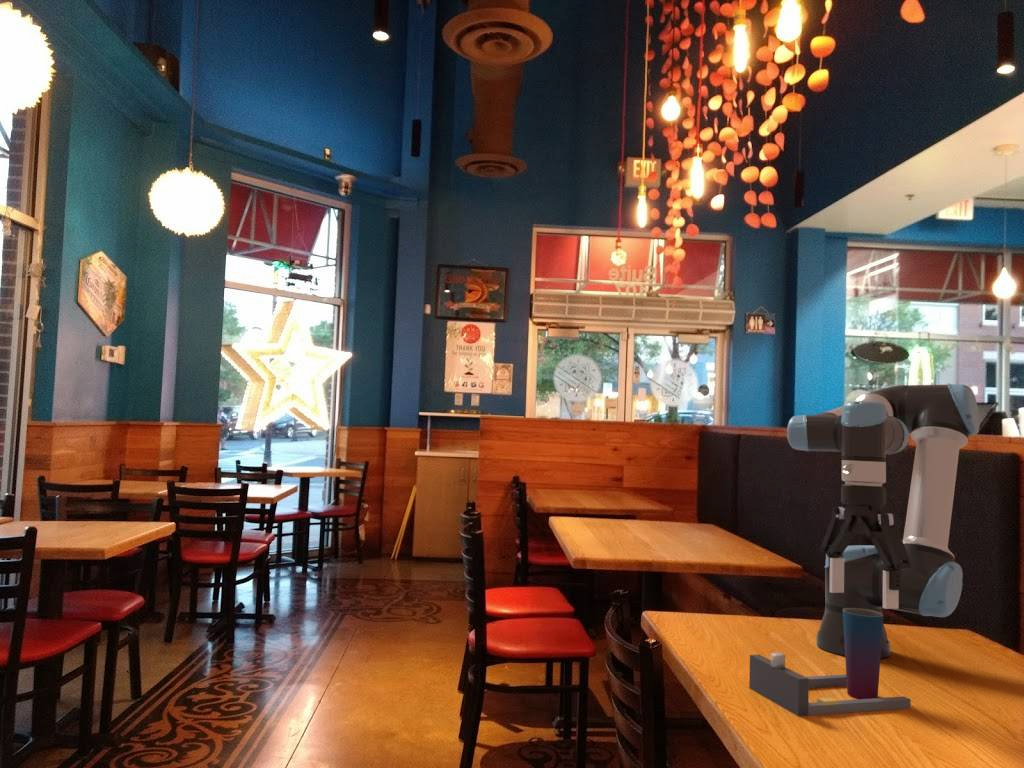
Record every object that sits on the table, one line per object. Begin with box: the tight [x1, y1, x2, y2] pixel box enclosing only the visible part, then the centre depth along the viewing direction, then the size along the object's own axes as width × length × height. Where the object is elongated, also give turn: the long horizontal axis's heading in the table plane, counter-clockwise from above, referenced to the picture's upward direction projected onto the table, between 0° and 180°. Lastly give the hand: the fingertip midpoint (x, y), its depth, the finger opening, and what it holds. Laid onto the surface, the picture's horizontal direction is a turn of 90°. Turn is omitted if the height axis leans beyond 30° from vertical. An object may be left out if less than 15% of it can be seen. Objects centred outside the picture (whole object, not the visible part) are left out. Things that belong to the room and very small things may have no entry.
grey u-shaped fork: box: [749, 652, 912, 717], centre depth 133 cm, size 23×14×8 cm, turn 106°
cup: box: [843, 608, 884, 699], centre depth 135 cm, size 7×7×15 cm
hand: (862, 600), depth 136 cm, fingers open, 13 cm apart
